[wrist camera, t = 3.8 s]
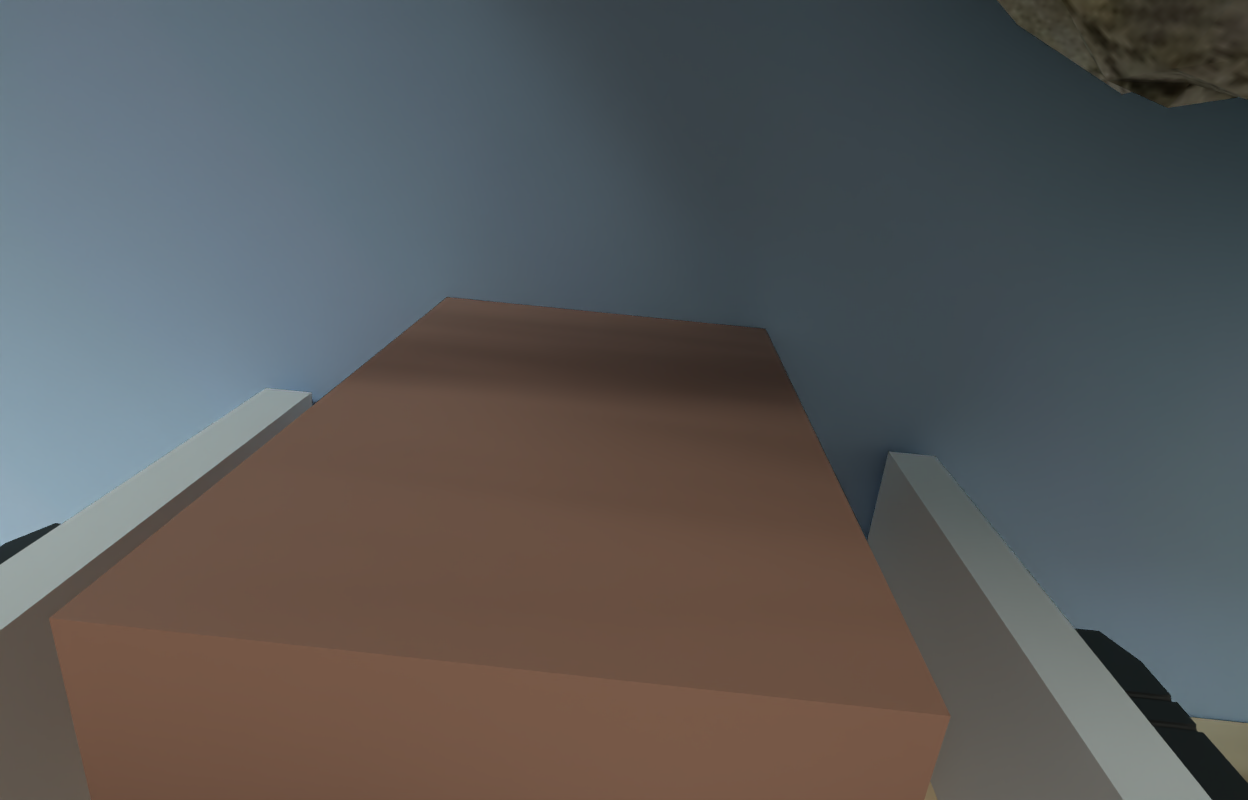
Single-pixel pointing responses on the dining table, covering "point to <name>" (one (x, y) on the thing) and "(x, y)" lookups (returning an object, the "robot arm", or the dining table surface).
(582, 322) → the brown block with handle
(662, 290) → the dining table surface
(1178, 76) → the hollow geode rock
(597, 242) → the dining table surface
